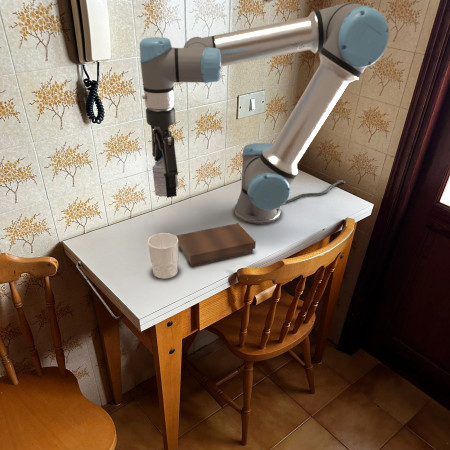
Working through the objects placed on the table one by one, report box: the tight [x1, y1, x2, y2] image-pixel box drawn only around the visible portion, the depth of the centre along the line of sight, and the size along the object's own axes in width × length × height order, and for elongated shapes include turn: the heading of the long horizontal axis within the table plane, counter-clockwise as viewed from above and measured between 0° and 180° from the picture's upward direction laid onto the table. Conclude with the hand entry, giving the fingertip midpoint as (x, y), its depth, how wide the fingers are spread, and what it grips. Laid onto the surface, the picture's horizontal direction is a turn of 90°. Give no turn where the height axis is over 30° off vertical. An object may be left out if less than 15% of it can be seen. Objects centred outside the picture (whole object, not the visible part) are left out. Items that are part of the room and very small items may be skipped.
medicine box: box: [152, 157, 179, 198], centre depth 125 cm, size 8×4×9 cm, turn 168°
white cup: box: [147, 232, 179, 280], centre depth 119 cm, size 8×8×10 cm
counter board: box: [175, 222, 257, 267], centre depth 130 cm, size 20×12×4 cm, turn 114°
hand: (166, 189), depth 128 cm, fingers closed on medicine box, 9 cm apart
